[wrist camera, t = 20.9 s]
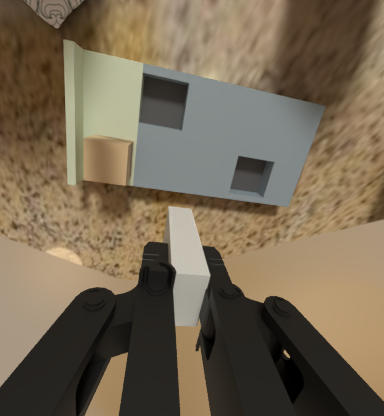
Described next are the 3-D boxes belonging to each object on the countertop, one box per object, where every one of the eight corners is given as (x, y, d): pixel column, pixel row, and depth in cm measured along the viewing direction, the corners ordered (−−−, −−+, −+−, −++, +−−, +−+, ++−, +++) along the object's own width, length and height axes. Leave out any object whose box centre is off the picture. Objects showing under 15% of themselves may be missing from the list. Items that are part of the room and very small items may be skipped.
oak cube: (133, 140, 30) (128, 145, 26) (130, 175, 32) (125, 185, 28) (95, 134, 30) (83, 138, 25) (95, 170, 31) (83, 180, 27)
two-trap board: (313, 106, 34) (341, 105, 29) (279, 200, 40) (297, 214, 35) (82, 53, 28) (63, 39, 23) (83, 173, 34) (67, 184, 29)
